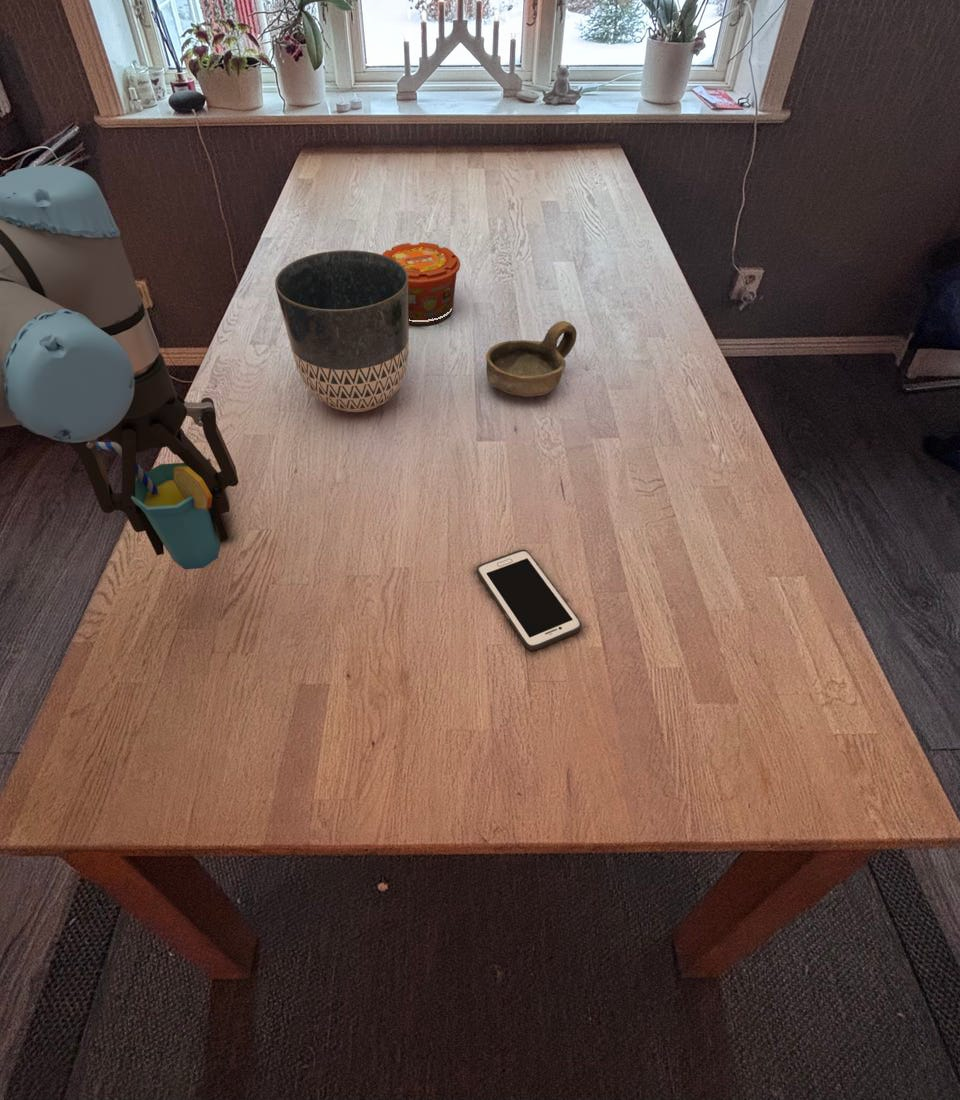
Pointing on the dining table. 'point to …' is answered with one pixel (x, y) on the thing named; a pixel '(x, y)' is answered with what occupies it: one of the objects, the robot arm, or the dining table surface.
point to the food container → (428, 279)
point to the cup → (177, 510)
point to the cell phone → (528, 599)
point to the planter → (347, 325)
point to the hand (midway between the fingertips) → (192, 538)
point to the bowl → (530, 362)
